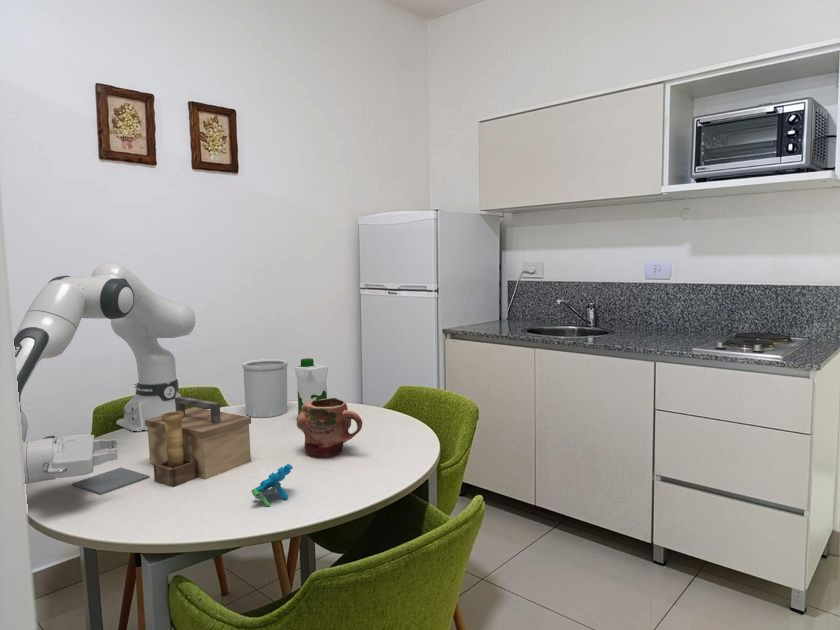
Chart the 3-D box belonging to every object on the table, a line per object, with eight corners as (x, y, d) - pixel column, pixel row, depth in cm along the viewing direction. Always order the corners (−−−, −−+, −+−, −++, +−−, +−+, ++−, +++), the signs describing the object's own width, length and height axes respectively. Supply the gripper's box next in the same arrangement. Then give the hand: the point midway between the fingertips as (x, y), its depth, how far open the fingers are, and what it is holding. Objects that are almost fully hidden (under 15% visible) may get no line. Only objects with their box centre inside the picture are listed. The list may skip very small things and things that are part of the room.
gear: (278, 478, 135) (295, 455, 129) (293, 498, 133) (312, 475, 128) (240, 501, 126) (257, 477, 120) (256, 523, 124) (274, 500, 119)
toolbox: (123, 471, 146) (118, 407, 144) (196, 447, 164) (193, 390, 162) (180, 489, 133) (176, 419, 132) (253, 461, 152) (250, 399, 150)
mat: (72, 484, 138) (72, 483, 138) (121, 468, 148) (121, 467, 148) (100, 494, 131) (100, 493, 131) (149, 477, 141) (149, 475, 141)
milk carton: (315, 416, 194) (313, 356, 192) (333, 420, 188) (331, 359, 186) (293, 422, 187) (291, 360, 185) (311, 427, 181) (309, 363, 179)
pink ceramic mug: (373, 448, 159) (372, 398, 158) (354, 464, 148) (353, 410, 146) (308, 443, 166) (306, 394, 164) (285, 457, 154) (283, 405, 153)
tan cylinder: (161, 480, 139) (157, 415, 138) (179, 474, 143) (175, 410, 142) (174, 484, 137) (170, 417, 135) (191, 477, 141) (187, 412, 139)
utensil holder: (276, 404, 210) (274, 356, 209) (297, 412, 199) (295, 361, 198) (237, 412, 201) (235, 362, 199) (257, 421, 190) (254, 367, 188)
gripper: (39, 459, 117) (116, 447, 124) (48, 433, 135) (115, 424, 142) (42, 489, 118) (118, 476, 124) (50, 460, 136) (117, 450, 142)
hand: (117, 448), depth 133 cm, fingers open, 8 cm apart
